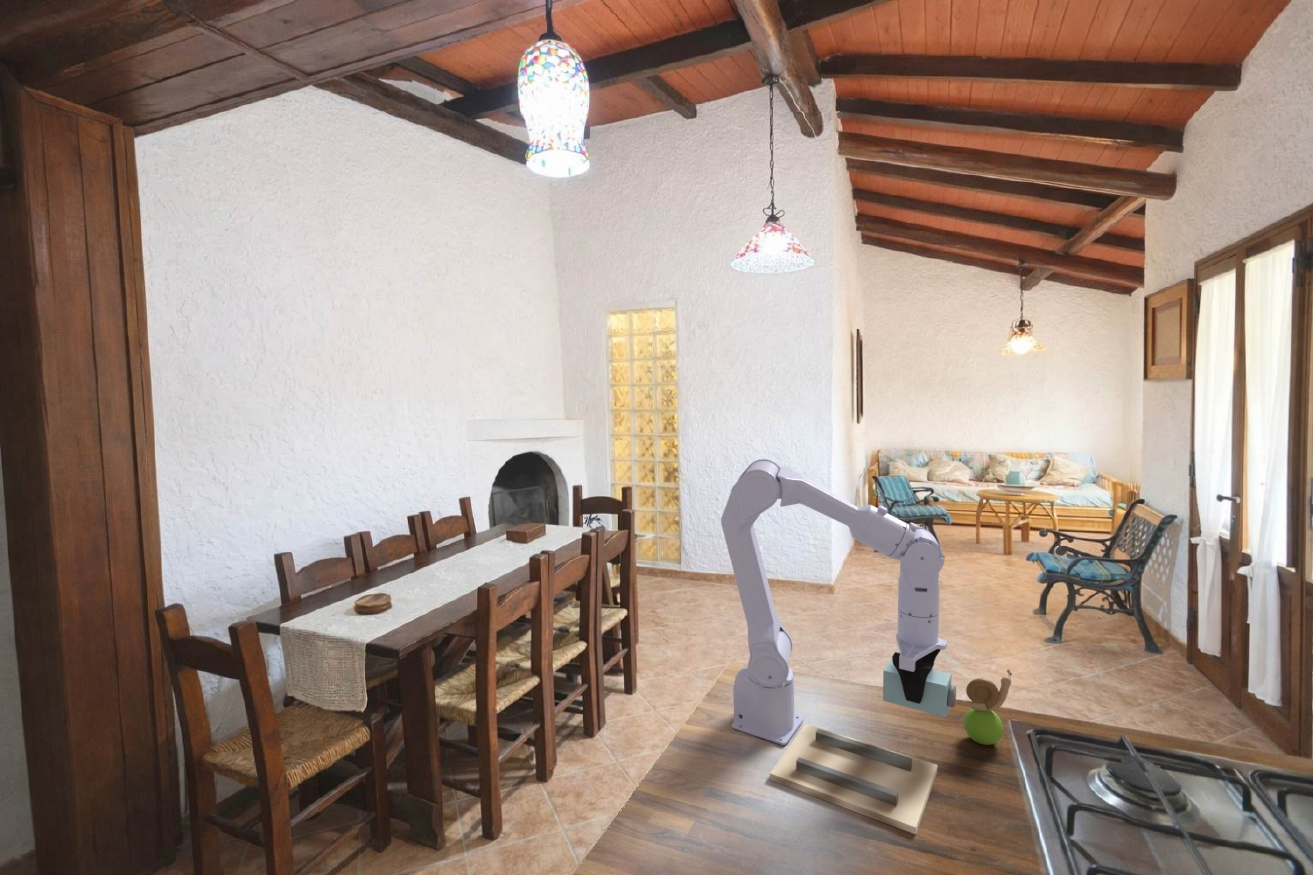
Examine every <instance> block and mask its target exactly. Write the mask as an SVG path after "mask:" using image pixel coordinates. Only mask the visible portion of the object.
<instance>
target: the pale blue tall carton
mask: <svg viewBox="0 0 1313 875" xmlns="http://www.w3.org/2000/svg"><path fill="white" fill-rule="evenodd" d="M882 671H883V676H882V677H883V678H882V679H883V682H882V686H883V687H882V689H883V690H882V700H883V702H887V703H891V704H894V705H898V706H901V707H905V708H908V709H909V708H910V709H912V710H916V711H920V712H924V713H927V714H930V715H935V716H937V717H942V718H947V716H948V714H949V710H950V708H953V709H954V708H955V706H956V700H957V686H955V685H952V675H953V674H952V673H950V672H945V671H942V670H941V671H940V670H937V669H933V668H932V670H931V671H930V673H929V674H928V676H927V679H926V683H925V688H924V694H923V698H922V700H921V703H920V704H918V703H914V702H911V701H907V700H906V698H905V695H904V691H903V686H902V682H901V678H900V676H899V673H898V671H897V669H896V668H895V666H894V664H893V662H892V658H891V659H889V661H887V664H886V665H885V667H884V669H883V670H882Z"/></svg>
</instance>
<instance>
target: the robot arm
mask: <svg viewBox="0 0 1313 875" xmlns="http://www.w3.org/2000/svg"><path fill="white" fill-rule="evenodd" d="M777 500H780V504H779V506H780V507H781V508H782V507H788V506H793V505H797V504H798V505H799V504H800V505H803V506H805V507H807V508H809V509H811V510H813V511H816V512H817V513H820V514H822V515H824V516H826V517H828V518H831V519H832V520H835V521H836V522H839V523H840V524H843V525H845V526H847V527H848V529H849V532H850V535H851V537H852V539H854V540H855V541H858V542H860V543H862V544H863V545H865V546H868V547H869V548H871V549H872V550H874V551H877V552H878V553H881V554H882V555H884V556H886V557H888V558H890V559H895V560H898V561H899V564H900V565H899V577H898V584H897V586H898V588H897V590H898V593H897V595H898V596H897V599H898V600H897V633H896V635H895V636H896V637H895V638H896V643H897V647H898V652H897V651H894V652H893V654H892V656H891V660H892V662H893V664H894V666H895V668H896V669H897V671H898V673H899V676H900V678H901V682H902V686H903V691H904V695H905V698H906V700H907V701H911V702H914V703H918V704H920V703H921V700H922V698H923V694H924V688H925V683H926V679H927V676H928V674H929V673H930V671H931V670H932V669H933V668H934V665H935V661H936V658H937V656H938V655H939V654H940V652H941V650H942V651H944V650H946V648H947V646H948V641H947V640H946V639H942V638H940V637H939V630H940V629H939V628H940V626H939V624H940V592H941V591H940V588H941V587H940V585H941V583H940V581H939V578H940V572H941V570H942V569H943V567H944V564H945V558H944V556H943V551H942V549H941V547H940V545H939V543H938V541H937V539H936V538H935V536H934V535H933V534H932V533H931V532H930V531H929V530H927V529H926V527H925V526H924V527H923V526H918V525H917V524H916V523H914V522H909V524H908V523H907V522H905V521H903V520H900V519H899V518H897V517H896V516H894V515H892V514H889V513H888V512H889V511H888V508H887V507H885V506H883V505H881V504H879V505H878V506H877V507H876V506H875V505H873V504H867V505H863V506H857V505H855V504H853V503H852V502H849V501H848V500H846V499H844V498H842V497H841V496H840V495H837V494H836V493H834V492H833V491H831V490H829V489H827V488H825V487H823V486H822V485H820V484H818V483H816V482H814V481H813V480H811V479H809V477H806V476H804V475H802V474H801V473H799V472H797V471H796V470H793V469H791V467H787V466H785V465H781V466H779V464H778V463H777V462H776V461H773V460H771V459H768V458H761V459H760V458H759V459H757V460H755V461H753V462H751V463H750V464H749V466H747V467H746V469H745V470H744V471H743V472H742V473H741V475H740V476H739V477H738V480H737V481H736V482H735V483H734V485H733V486H732V487H731V489H730V493H729V496H728V500H727V502H726V505H725V507H724V510H723V513H722V516H721V518H720V521H721V522H720V523H721V527H722V532H723V535H724V539H725V543H726V547H727V550H728V554H729V557H730V558H729V560H730V562H731V567H732V570H733V575H734V578H735V579H734V580H735V582H736V585H737V591H738V594H739V597H740V602H741V605H742V609H743V614H744V617H745V619H746V623H747V624H746V625H747V645H748V646H747V647H748V650H749V659H748V664H747V666H742V667H741V668H740V669H739V670H738V672H737V673H736V676H735V679H734V682H733V693H732V694H733V695H732V696H733V723H732V724H731V726H732V728H733V729H735V730H737V731H740V732H743V733H746V734H749V735H752V736H756V737H759V738H762V739H764V740H767V741H770V742H773V743H776V744H779V745H781V746H785V745H787V744H788V743H789V741H790V740H791V739H792V737H793V736H794V735H795V734H796V732H797V731H798V729H799V728H800V726H801V725H802V724H803V722H804V718H803V717H802V716H798V715H796V714H795V680H794V679H795V678H794V677H795V675H794V671H793V669H792V668H791V666H790V665H789V664H790V659H791V658H790V657H791V653H792V650H793V640H792V638H791V636H790V633H788V632H787V631H786V629H785V628H784V626H783V624H782V620H781V618H780V616H779V615H778V614H777V611H776V607H775V604H774V600H773V596H772V592H771V588H770V584H769V583H770V582H769V581H768V576H767V572H766V570H765V568H766V567H765V565H764V561H763V556H762V553H761V549H760V544H759V540H758V536H757V532H756V528H755V525H754V524H755V522H756V521H757V520H758V518H759V517H760V515H761V514H763V513H764V512H765V511H767V510H769V509H770V508H772V506H774V505H775V504H776V503H777Z"/></svg>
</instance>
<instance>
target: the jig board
mask: <svg viewBox="0 0 1313 875" xmlns="http://www.w3.org/2000/svg"><path fill="white" fill-rule="evenodd" d="M938 766H939V765H938V764H936V763H932V762H929V761H926V760H922V759H919V758H916V757H913V756H911V755H907V754H905V753H904V754H903V753H901V752H897V751H894V750H891V749H887V748H885V747H882V746H878V745H874V744H872V743H869V742H865V741H862V740H859V739H856V738H852V737H850V736H846V735H843V734H841V733H836V732H833V731H831V730H827V729H824V728H821V727H817V726H814V725H811V724H808V723H805V724H804V725H803V727H802V728H801V729H800V731H799V732H798V734H797V735H796V736H795V738H794V739H793V740H792V742H791V743H790V744H789V746H788V747H787V748H786V750H785V751H784V753H783V754H782V756H781V757H780V758H779V760H778V761H777V762H776V764H775V765H774V767H773V768H772V770H771V771H770V772H769V779H770V781H773V782H776V783H778V784H782V785H784V786H786V787H788V788H789V787H790V788H791V789H794V790H796V791H799V792H801V793H804V794H808V795H810V796H813V797H815V798H818V799H821V800H824V801H825V802H828V803H832V804H834V805H837V806H839V807H842V808H845V809H847V810H850V811H853V812H855V813H858V814H860V815H863V816H866V817H868V818H871V819H873V820H877V821H879V822H882V823H884V824H887V825H889V826H891V827H895V828H897V829H900V830H903V831H906V832H907V833H908V832H909V833H910V834H914V835H917V833H918V830H919V828H920V824H921V821H922V818H923V815H924V812H925V809H926V806H927V803H928V800H929V798H930V794H931V791H932V788H933V785H934V783H935V779H936V776H937V773H938V770H939V769H938V768H939V767H938Z"/></svg>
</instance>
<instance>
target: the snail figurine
mask: <svg viewBox="0 0 1313 875" xmlns="http://www.w3.org/2000/svg"><path fill="white" fill-rule="evenodd" d="M1006 673H1007V674H1008V676H1003V677H1002V678H1001V679H1000V684H1001V685H1000V687H999V689H998V687H997V685H996V684H995V683H994V682H993V681H991V680H990V679H987V678H984V677H981V678H979V677H978V678H974V679H972V680H971V681H969V683H967V685H966V688H965V689H966V691H965V693H966V695H967V697H968V699H969V700H966V703H965V704H967V706H968V707H969V709H968V710H967V711H966V712H965V714H964V717H963V727H964V730H965V732H966V734H967V735H968V737H969V738H970V739H972V740H973V741H974V742H976V743H978V744H979V745H984V746H989V745H991V746H992V745H994V744H995V743H997V742H999V741H1000V740H1001V738H1002V736H1003V734H1004V725H1003V722H1002V720H1001V718H1000V716H999V715H998V714H997V713H996V712H995V711H994V710H998V709H999V708H1001V707H1002V706H1003V704H1004V703H1005V701H1006V699H1007V697H1008V694H1009V690H1010V686H1011V685H1012V680H1011V677H1012V676H1013V672H1012V671H1011V669H1007V670H1006ZM970 700H971V701H970Z"/></svg>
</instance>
